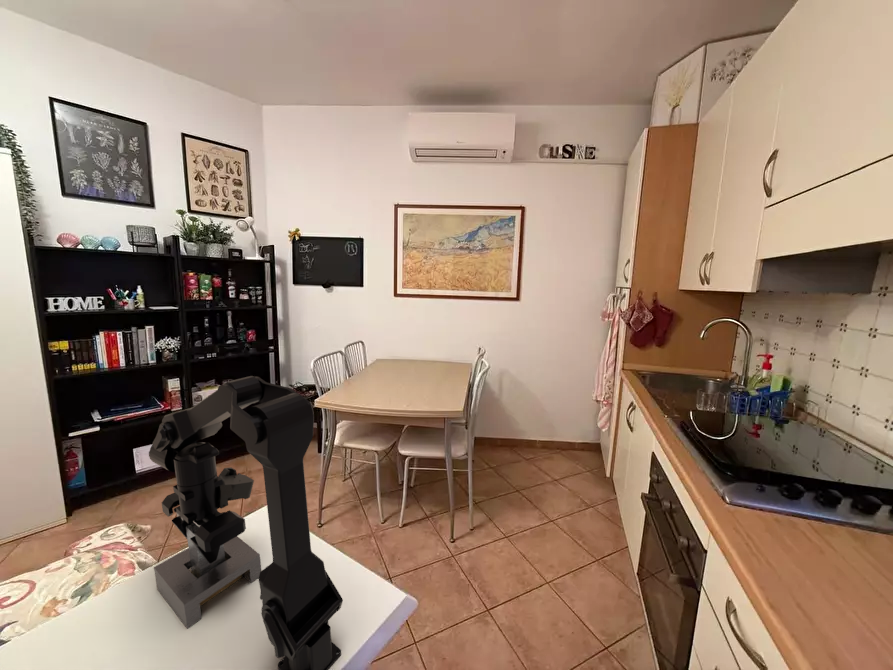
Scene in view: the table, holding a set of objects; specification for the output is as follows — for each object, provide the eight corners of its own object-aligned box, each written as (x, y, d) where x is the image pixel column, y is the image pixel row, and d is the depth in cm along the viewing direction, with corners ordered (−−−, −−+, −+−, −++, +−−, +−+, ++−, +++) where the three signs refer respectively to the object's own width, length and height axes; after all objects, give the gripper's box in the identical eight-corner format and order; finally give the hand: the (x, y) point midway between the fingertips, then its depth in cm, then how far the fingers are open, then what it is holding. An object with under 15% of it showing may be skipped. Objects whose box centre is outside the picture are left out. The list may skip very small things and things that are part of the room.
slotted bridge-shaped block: (261, 575, 65) (259, 554, 64) (187, 628, 55) (183, 604, 54) (228, 546, 72) (226, 527, 71) (157, 589, 62) (153, 567, 61)
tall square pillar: (227, 575, 64) (220, 521, 62) (202, 591, 60) (195, 535, 59) (216, 565, 66) (210, 513, 64) (192, 580, 63) (185, 526, 61)
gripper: (271, 472, 62) (278, 549, 64) (222, 445, 72) (229, 512, 74) (201, 505, 52) (212, 594, 55) (155, 469, 63) (166, 545, 65)
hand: (207, 556), depth 62 cm, fingers closed on tall square pillar, 4 cm apart
